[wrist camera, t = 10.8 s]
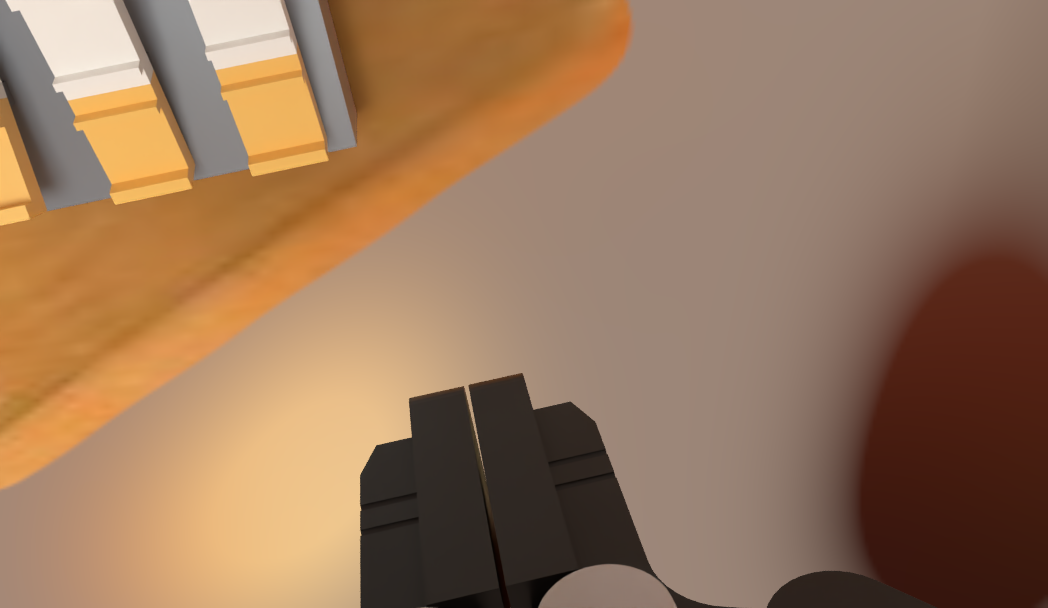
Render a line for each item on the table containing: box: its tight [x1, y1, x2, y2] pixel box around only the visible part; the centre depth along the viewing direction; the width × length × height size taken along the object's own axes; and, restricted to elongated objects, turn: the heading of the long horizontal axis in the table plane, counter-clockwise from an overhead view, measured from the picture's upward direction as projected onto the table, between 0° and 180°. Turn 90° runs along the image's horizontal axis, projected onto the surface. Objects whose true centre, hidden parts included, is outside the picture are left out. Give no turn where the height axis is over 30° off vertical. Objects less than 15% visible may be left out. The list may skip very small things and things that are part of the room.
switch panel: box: [0, 0, 357, 211], centre depth 34 cm, size 10×15×5 cm
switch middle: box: [6, 0, 195, 205], centre depth 32 cm, size 8×3×2 cm, turn 10°
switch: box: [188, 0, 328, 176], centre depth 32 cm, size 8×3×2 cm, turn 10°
